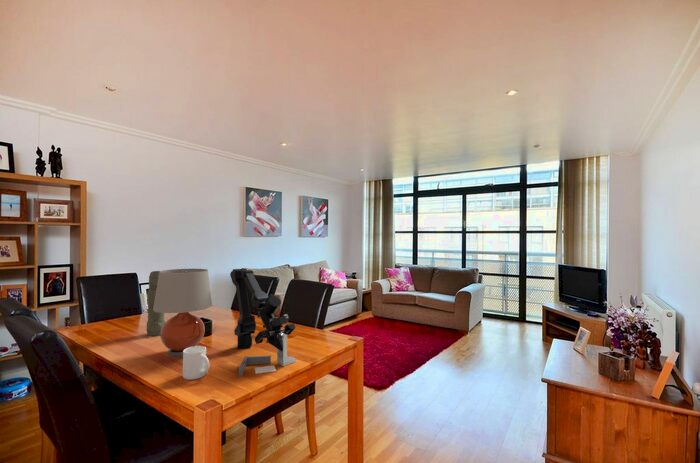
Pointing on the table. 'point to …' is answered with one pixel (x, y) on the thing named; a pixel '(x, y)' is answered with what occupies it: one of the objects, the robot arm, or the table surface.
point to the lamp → (182, 307)
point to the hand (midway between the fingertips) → (284, 349)
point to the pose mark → (265, 369)
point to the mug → (195, 362)
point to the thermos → (154, 318)
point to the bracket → (283, 351)
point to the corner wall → (253, 361)
